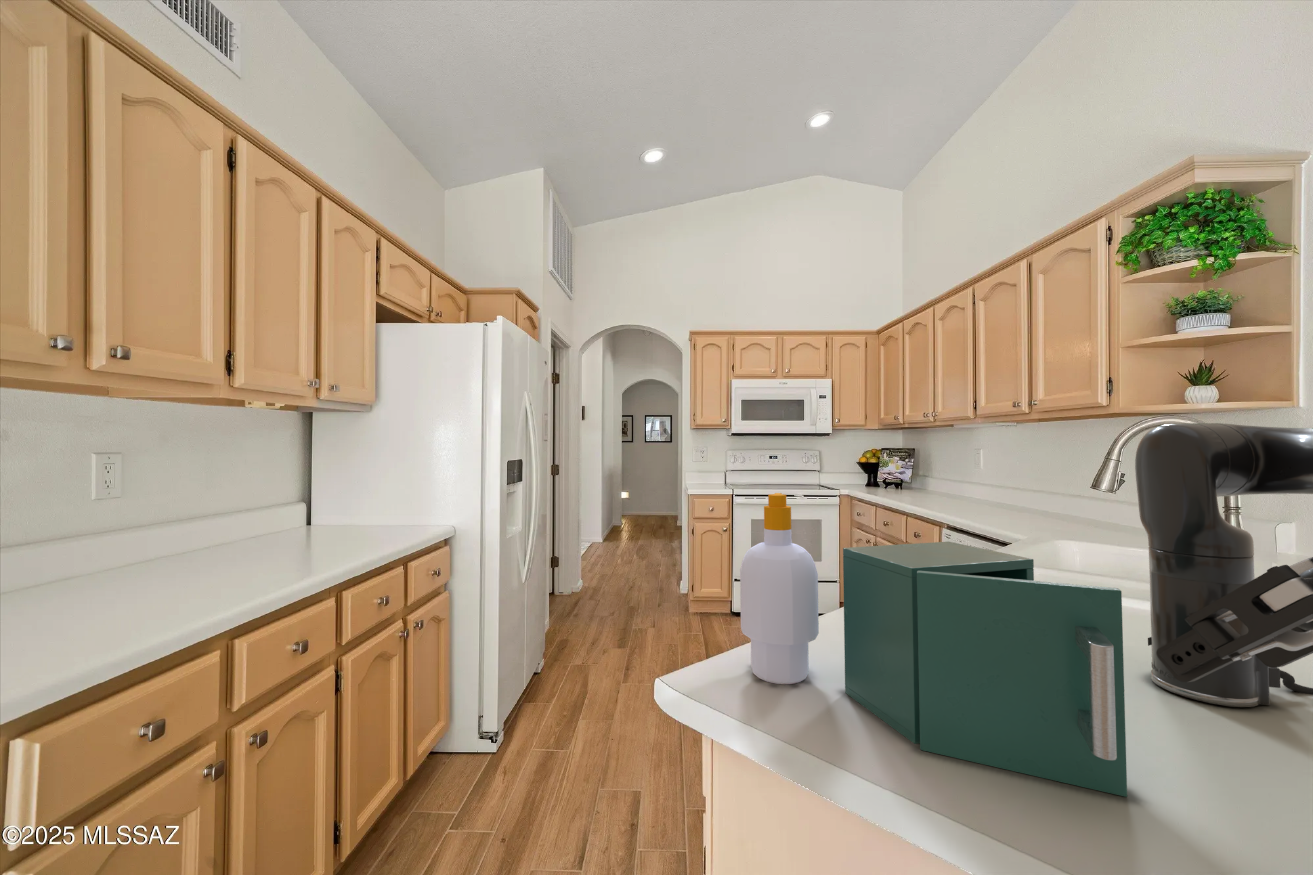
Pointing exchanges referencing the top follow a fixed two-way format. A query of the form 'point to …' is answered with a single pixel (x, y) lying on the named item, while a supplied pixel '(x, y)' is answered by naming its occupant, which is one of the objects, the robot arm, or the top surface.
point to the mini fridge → (900, 619)
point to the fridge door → (1024, 677)
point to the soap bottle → (779, 599)
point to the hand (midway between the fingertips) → (1215, 660)
